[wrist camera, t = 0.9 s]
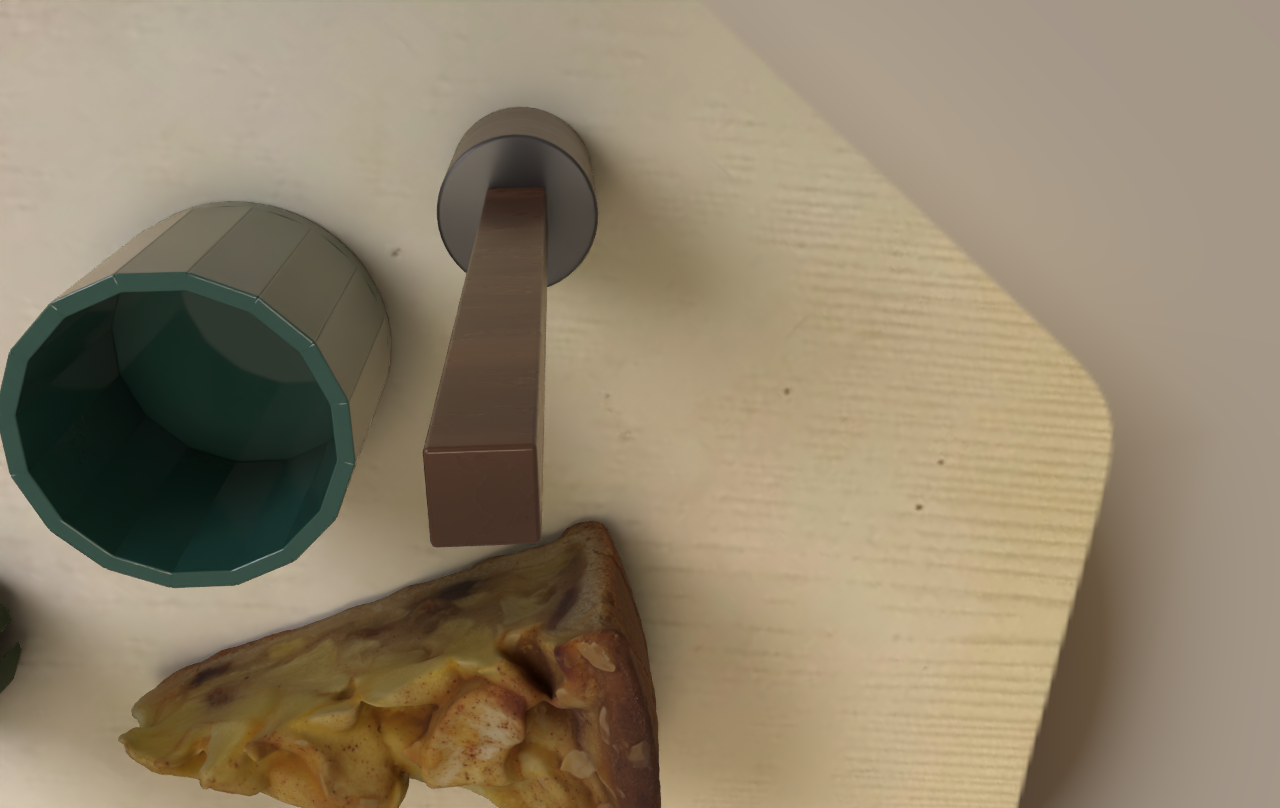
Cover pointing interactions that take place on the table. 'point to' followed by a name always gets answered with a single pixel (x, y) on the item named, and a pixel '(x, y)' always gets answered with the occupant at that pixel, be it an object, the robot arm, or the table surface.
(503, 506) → the brown post with base
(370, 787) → the pie slice
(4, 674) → the character mug
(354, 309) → the cup
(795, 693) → the table surface
